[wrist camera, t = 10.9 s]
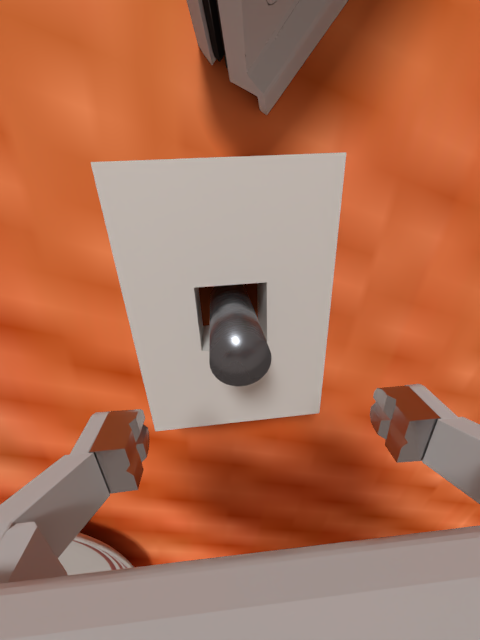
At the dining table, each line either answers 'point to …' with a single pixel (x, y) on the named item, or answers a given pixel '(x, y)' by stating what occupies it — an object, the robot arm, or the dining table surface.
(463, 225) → the dining table surface
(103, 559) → the dinner plate
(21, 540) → the robot arm
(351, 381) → the dining table surface
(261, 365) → the pin
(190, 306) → the grey block with hole
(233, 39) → the grey curved slotted block
